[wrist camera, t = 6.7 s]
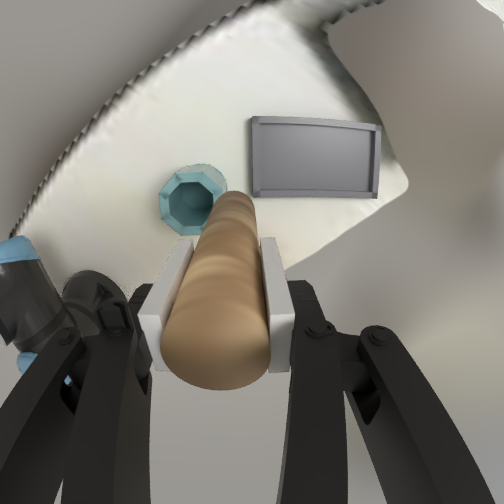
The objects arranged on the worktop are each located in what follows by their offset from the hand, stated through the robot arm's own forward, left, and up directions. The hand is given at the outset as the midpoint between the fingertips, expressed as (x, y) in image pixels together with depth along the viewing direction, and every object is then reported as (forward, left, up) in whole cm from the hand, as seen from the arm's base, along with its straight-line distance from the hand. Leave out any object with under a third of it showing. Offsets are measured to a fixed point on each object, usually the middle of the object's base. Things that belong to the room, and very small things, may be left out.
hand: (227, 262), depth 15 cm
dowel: (0, 0, -10) cm, 10 cm away
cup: (-5, -2, -29) cm, 30 cm away
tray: (+13, +3, -29) cm, 32 cm away
